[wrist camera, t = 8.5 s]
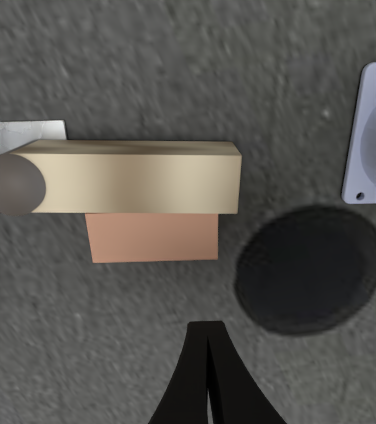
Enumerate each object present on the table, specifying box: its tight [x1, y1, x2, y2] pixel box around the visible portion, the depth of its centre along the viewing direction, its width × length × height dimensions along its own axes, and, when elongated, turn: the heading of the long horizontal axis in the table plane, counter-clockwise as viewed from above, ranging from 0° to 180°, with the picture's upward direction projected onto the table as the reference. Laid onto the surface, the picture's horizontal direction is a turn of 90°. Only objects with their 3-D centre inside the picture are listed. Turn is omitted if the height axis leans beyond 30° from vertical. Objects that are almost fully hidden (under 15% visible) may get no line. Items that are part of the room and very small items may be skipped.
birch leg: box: [0, 140, 242, 216], centre depth 17 cm, size 12×3×4 cm, turn 89°
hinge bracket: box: [0, 120, 68, 154], centre depth 17 cm, size 6×5×4 cm
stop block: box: [85, 213, 218, 263], centre depth 19 cm, size 7×3×4 cm, turn 92°
